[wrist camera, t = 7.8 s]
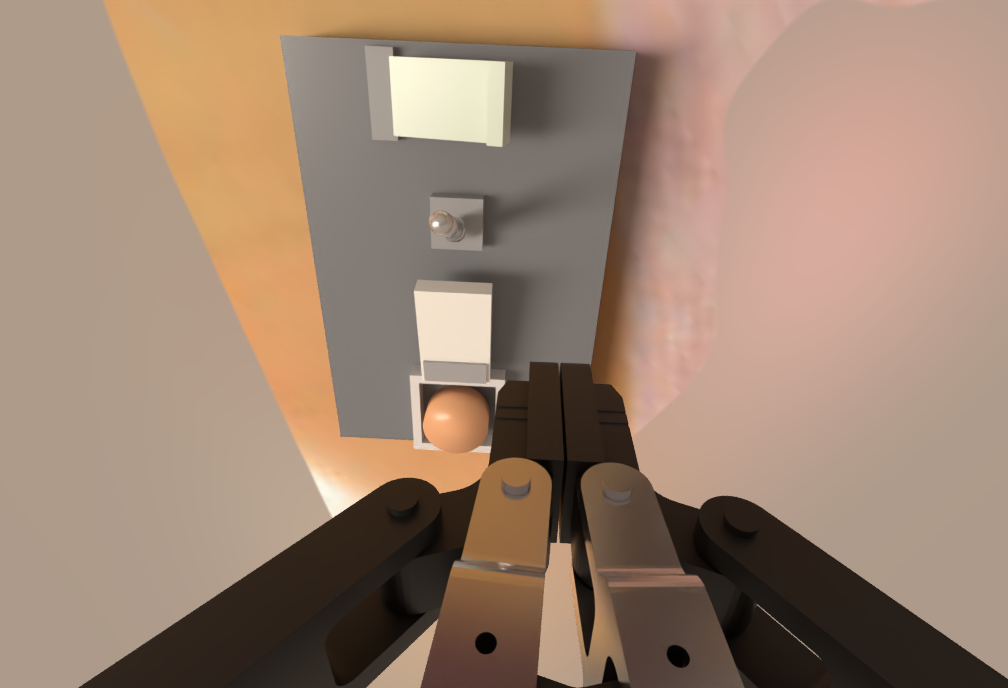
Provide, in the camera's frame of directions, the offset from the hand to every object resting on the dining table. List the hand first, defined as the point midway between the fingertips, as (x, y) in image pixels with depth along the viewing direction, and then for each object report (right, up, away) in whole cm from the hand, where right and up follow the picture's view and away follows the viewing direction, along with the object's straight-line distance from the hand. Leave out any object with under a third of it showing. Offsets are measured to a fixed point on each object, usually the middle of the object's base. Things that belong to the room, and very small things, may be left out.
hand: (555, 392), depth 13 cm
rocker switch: (-4, +2, +19) cm, 20 cm away
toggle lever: (-4, +8, +16) cm, 18 cm away
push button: (-5, -4, +23) cm, 24 cm away
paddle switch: (-4, +14, +13) cm, 19 cm away
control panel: (-4, +7, +22) cm, 23 cm away
